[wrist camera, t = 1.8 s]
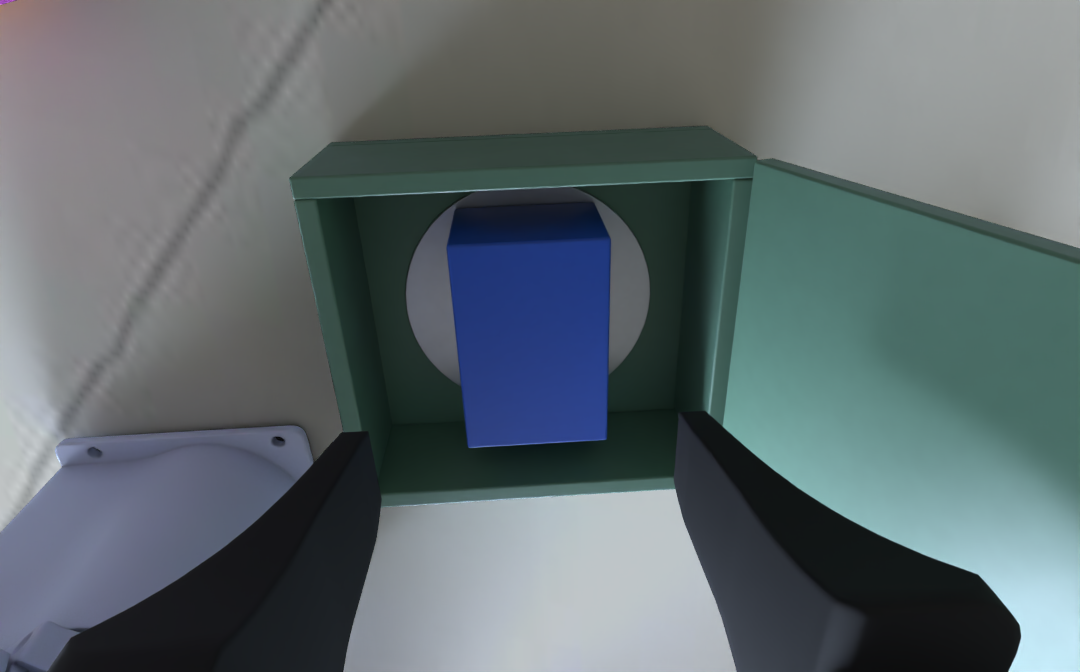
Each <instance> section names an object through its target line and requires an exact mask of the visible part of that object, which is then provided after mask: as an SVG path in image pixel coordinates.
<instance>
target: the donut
mask: <svg viewBox="0 0 1080 672" xmlns="http://www.w3.org/2000/svg"><path fill="white" fill-rule="evenodd" d="M13 1H16V0H0V5H1V4H6V3H9V2H13Z"/></svg>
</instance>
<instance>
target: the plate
mask: <svg viewBox="0 0 1080 672" xmlns="http://www.w3.org/2000/svg"><path fill="white" fill-rule="evenodd" d="M586 202H593V203H595V205H596V208H597V210H598V212H599V214H600V216H601V218H602V221H603V223H604V225H605V227H606V229H607V231H608V234H609V236H610V238H611V271H610V323H609V374H610V373H612V372H613V371H614V370H615V369H616V368H617V367H618V366H619V365H620V364H621V363H622V362H623V361H624V359H625V358H626V357H627V355H628V354H629V353H630V352H631V350H632V349H633V347H634V345H635V344H636V342H637V340H638V338H639V337H640V334H641V332H642V329H643V327H644V325H645V321H646V317H647V314H648V310H649V302H650V278H649V272H648V266H647V263H646V260H645V256H644V253H643V251H642V249H641V247H640V245H639V243H638V241H637V238H636V237H635V235H634V234H633V232H632V231H631V229H630V228H629V226H628V225H627V224H626V223H625V221H624V220H623V219H622V218H621V217H620V216H619V215H618V214H617V213H616V212H615V211H614V210H613V209H612V208H610V207H609V206H608V205H607V204H606V203H604V202H603V201H601V200H600V199H598V198H596V197H595V196H593V195H592V194H590V193H588V192H586V191H583V190H581V189H579V188H577V187H555V188H534V189H513V190H492V191H473V192H471V193H469V194H467V195H466V196H464V197H462V198H460V199H458V200H457V201H456V202H454V203H453V204H452V205H450V206H449V207H448V208H446V209H445V210H444V211H443V212H442V213H441V214H440V215H439V216H438V217H437V218H436V219H435V220H434V221H433V222H432V224H431V225H430V226H429V227H428V229H427V230H426V231H425V233H424V234H423V236H422V238H421V239H420V241H419V243H418V245H417V247H416V249H415V251H414V254H413V257H412V259H411V262H410V265H409V270H408V274H407V278H406V292H405V296H406V309H407V313H408V318H409V323H410V325H411V328H412V331H413V333H414V336H415V338H416V340H417V342H418V344H419V345H420V347H421V349H422V350H423V352H424V353H425V355H426V356H427V357H428V359H429V360H430V361H431V362H432V363H433V364H434V366H435V367H436V368H437V369H438V370H439V371H440V372H441V373H443V374H444V375H445V376H446V377H447V378H449V379H450V380H451V381H453V382H454V383H456V384H457V385H459V386H461V381H460V371H459V362H458V353H457V343H456V334H455V325H454V315H453V306H452V297H451V287H450V278H449V268H448V259H447V250H446V247H447V242H448V238H449V233H450V228H451V224H452V219H453V215H454V211H455V209H461V208H482V207H503V206H524V205H545V204H566V203H586ZM609 374H608V375H609Z"/></svg>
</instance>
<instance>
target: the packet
mask: <svg viewBox="0 0 1080 672" xmlns="http://www.w3.org/2000/svg"><path fill="white" fill-rule="evenodd" d="M446 250H447V259H448V268H449V278H450V287H451V297H452V306H453V315H454V325H455V334H456V343H457V353H458V362H459V371H460V381H461V390H462V400H463V409H464V418H465V428H466V437H467V445H468V447H469V448H478V447H494V446H511V445H527V444H544V443H561V442H577V441H594V440H606V439H607V426H608V374H609V323H610V271H611V238H610V236H609V234H608V231H607V229H606V227H605V225H604V223H603V221H602V218H601V216H600V214H599V212H598V210H597V208H596V205H595V203H593V202H586V203H566V204H545V205H524V206H503V207H482V208H461V209H455V211H454V215H453V219H452V224H451V228H450V233H449V238H448V242H447V247H446Z"/></svg>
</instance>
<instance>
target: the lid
mask: <svg viewBox="0 0 1080 672" xmlns="http://www.w3.org/2000/svg"><path fill="white" fill-rule="evenodd" d="M723 427H724V428H725V429H726V430H727V431H728V432H729V433H731V434H732V435H733V436H734V437H735V438H736V439H737V440H738V441H740V442H741V443H742V444H743V445H744V446H745V447H746V448H748V449H749V450H750V451H751V452H752V453H753V454H755V455H756V456H757V457H758V458H759V459H761V460H762V461H763V462H764V463H766V464H767V465H768V466H769V467H771V468H772V469H773V470H775V471H776V472H777V473H779V474H780V475H781V476H783V477H784V478H785V479H787V480H788V481H789V482H791V483H792V484H793V485H795V486H796V487H798V488H799V489H801V490H802V491H803V492H805V493H806V494H808V495H809V496H811V497H813V498H814V499H816V500H817V501H819V502H821V503H822V504H824V505H825V506H827V507H829V508H830V509H832V510H834V511H835V512H837V513H839V514H840V515H842V516H844V517H846V518H848V519H849V520H851V521H853V522H855V523H857V524H859V525H861V526H863V527H865V528H867V529H868V530H870V531H872V532H874V533H876V534H878V535H881V536H883V537H885V538H887V539H889V540H891V541H893V542H896V543H898V544H900V545H902V546H905V547H907V548H909V549H912V550H914V551H916V552H919V553H921V554H923V555H926V556H928V557H931V558H934V559H937V560H939V561H942V562H945V563H948V564H950V565H953V566H956V567H959V568H962V569H964V570H967V571H970V572H973V573H975V574H978V575H979V576H980V577H981V578H982V579H983V580H984V581H985V582H986V583H987V585H988V586H989V587H990V588H991V589H992V590H993V591H994V593H995V594H996V595H997V596H998V597H999V599H1000V600H1001V601H1002V602H1003V604H1004V605H1005V606H1006V607H1007V609H1008V610H1009V611H1010V612H1011V613H1012V615H1013V616H1014V618H1015V619H1016V620H1017V622H1018V623H1019V625H1020V631H1021V640H1020V644H1019V647H1018V651H1017V654H1016V656H1015V659H1014V661H1013V663H1012V665H1011V667H1010V669H1009V671H1008V672H1080V248H1076V247H1073V246H1070V245H1066V244H1063V243H1059V242H1056V241H1053V240H1049V239H1046V238H1042V237H1039V236H1035V235H1032V234H1029V233H1025V232H1022V231H1018V230H1015V229H1012V228H1008V227H1005V226H1001V225H998V224H995V223H991V222H988V221H984V220H981V219H978V218H974V217H971V216H967V215H964V214H960V213H957V212H954V211H950V210H947V209H943V208H940V207H937V206H933V205H930V204H926V203H923V202H920V201H916V200H913V199H909V198H906V197H903V196H899V195H896V194H892V193H889V192H885V191H882V190H879V189H875V188H872V187H868V186H865V185H862V184H858V183H855V182H851V181H848V180H845V179H841V178H838V177H834V176H831V175H828V174H824V173H821V172H817V171H814V170H810V169H807V168H804V167H800V166H797V165H793V164H790V163H787V162H783V161H780V160H776V159H773V158H772V159H765V160H758V161H756V162H755V165H754V174H753V182H752V190H751V198H750V207H749V215H748V223H747V231H746V239H745V248H744V256H743V264H742V272H741V281H740V289H739V297H738V305H737V313H736V322H735V330H734V338H733V346H732V355H731V363H730V371H729V379H728V387H727V396H726V404H725V412H724V420H723Z"/></svg>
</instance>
